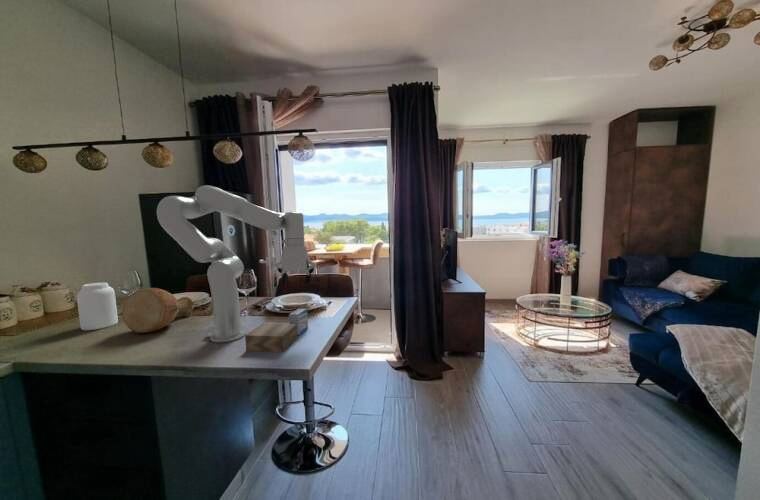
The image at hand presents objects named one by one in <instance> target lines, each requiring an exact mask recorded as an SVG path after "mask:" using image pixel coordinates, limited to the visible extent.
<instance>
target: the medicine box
mask: <svg viewBox="0 0 760 500" xmlns="http://www.w3.org/2000/svg"><path fill="white" fill-rule="evenodd" d="M288 324H296V325H297V336H300V335H301V334H303V333H304V332H305V331H306V330H308V329H309V322H308V309H307V308H297V309H296V310H294V311H292V312H290V313H289V314H288Z"/></svg>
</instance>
